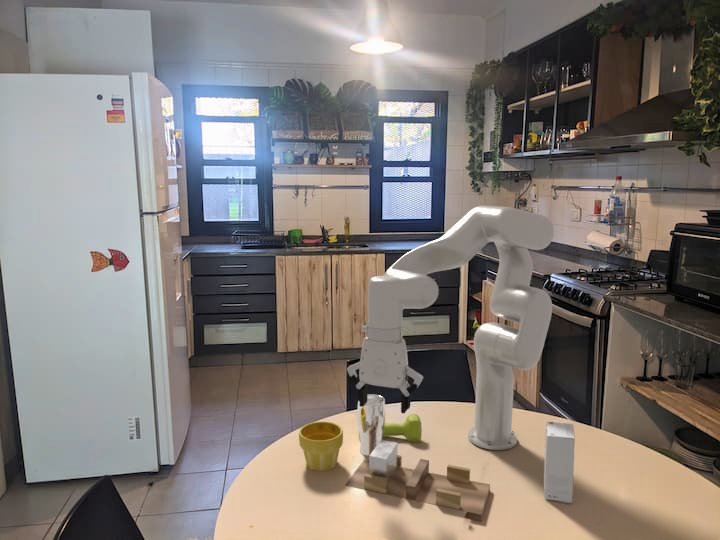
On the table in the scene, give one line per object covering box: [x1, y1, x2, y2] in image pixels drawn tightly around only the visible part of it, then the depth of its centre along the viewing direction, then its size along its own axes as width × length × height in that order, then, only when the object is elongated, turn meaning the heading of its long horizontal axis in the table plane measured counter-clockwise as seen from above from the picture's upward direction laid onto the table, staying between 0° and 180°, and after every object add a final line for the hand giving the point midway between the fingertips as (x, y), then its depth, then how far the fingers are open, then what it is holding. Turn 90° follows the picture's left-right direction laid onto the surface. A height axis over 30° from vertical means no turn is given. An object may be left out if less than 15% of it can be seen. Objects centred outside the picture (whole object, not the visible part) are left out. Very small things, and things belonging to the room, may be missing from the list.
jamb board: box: [344, 454, 491, 522], centre depth 125 cm, size 12×30×4 cm, turn 69°
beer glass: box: [356, 393, 386, 457], centre depth 139 cm, size 7×7×15 cm
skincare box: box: [543, 421, 576, 505], centre depth 124 cm, size 8×6×15 cm
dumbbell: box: [358, 413, 423, 443], centre depth 148 cm, size 16×8×7 cm, turn 89°
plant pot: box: [298, 420, 344, 471], centre depth 134 cm, size 10×10×10 cm
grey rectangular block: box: [368, 439, 399, 487], centre depth 127 cm, size 8×4×7 cm, turn 159°
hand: (383, 407), depth 125 cm, fingers open, 9 cm apart
